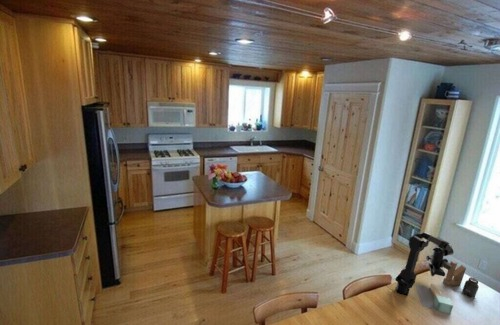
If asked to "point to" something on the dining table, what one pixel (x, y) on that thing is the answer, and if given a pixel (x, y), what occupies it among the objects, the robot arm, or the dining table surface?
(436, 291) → the slat
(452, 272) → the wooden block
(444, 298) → the end cap
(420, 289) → the mat
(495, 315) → the dining table surface
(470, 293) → the supplement bottle
